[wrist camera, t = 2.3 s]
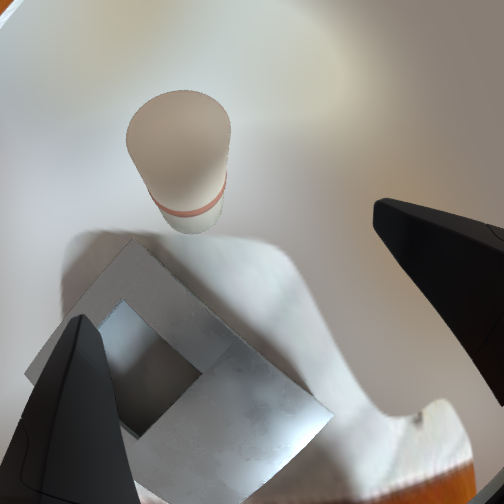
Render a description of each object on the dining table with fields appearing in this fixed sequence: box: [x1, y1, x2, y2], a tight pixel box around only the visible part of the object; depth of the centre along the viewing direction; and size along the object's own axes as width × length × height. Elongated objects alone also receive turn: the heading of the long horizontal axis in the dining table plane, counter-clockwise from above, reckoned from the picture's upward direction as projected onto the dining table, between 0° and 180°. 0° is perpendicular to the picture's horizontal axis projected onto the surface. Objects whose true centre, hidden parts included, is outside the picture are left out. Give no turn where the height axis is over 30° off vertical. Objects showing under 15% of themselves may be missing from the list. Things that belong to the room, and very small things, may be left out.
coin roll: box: [126, 90, 231, 234], centre depth 16 cm, size 4×4×10 cm
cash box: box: [24, 238, 334, 504], centre depth 17 cm, size 16×12×4 cm
